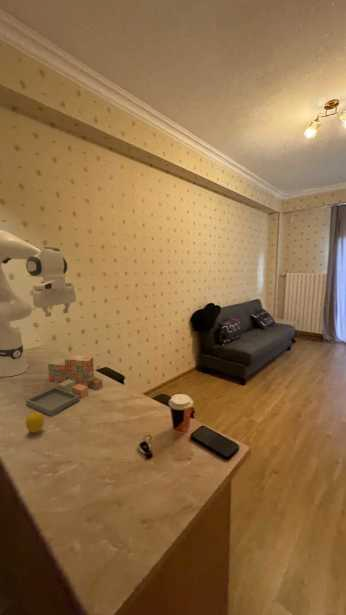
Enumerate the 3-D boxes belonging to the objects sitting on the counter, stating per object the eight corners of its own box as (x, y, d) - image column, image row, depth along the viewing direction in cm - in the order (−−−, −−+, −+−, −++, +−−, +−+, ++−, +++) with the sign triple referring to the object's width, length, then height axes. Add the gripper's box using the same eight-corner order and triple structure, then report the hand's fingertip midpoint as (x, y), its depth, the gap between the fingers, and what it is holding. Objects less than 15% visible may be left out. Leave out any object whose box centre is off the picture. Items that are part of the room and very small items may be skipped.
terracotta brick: (72, 395, 122) (71, 387, 121) (79, 391, 125) (78, 383, 125) (81, 398, 119) (80, 390, 118) (88, 395, 122) (87, 386, 122)
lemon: (48, 429, 97) (46, 409, 95) (35, 439, 92) (33, 417, 90) (36, 426, 98) (34, 406, 97) (23, 435, 93) (21, 414, 92)
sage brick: (58, 391, 125) (58, 383, 124) (69, 386, 130) (68, 379, 129) (64, 394, 123) (63, 385, 122) (74, 388, 128) (74, 381, 127)
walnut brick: (87, 387, 130) (87, 379, 129) (93, 384, 133) (93, 376, 132) (96, 390, 127) (96, 382, 126) (102, 387, 130) (102, 379, 129)
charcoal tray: (26, 405, 112) (26, 400, 112) (55, 391, 124) (55, 386, 124) (51, 416, 105) (50, 410, 104) (79, 401, 117) (79, 395, 116)
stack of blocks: (48, 381, 136) (47, 358, 133) (55, 376, 142) (54, 354, 140) (89, 384, 133) (88, 360, 131) (94, 378, 139) (93, 356, 137)
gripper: (68, 282, 129) (70, 310, 131) (29, 285, 111) (32, 318, 114) (77, 282, 126) (80, 311, 129) (39, 286, 109) (42, 319, 111)
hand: (57, 314), depth 121 cm, fingers open, 8 cm apart
